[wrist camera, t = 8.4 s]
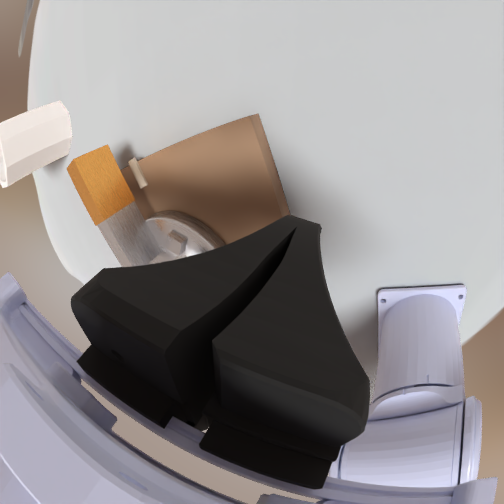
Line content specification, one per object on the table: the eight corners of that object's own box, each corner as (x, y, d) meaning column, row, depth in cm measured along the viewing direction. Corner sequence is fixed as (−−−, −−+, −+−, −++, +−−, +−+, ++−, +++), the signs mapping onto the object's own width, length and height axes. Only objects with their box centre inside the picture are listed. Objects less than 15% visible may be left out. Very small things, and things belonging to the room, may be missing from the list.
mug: (74, 106, 22) (2, 133, 15) (72, 166, 28) (12, 200, 21) (38, 92, 24) (-18, 113, 16) (37, 142, 29) (-12, 167, 22)
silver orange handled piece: (262, 311, 25) (237, 357, 21) (178, 312, 31) (152, 345, 27) (158, 109, 17) (101, 125, 13) (92, 168, 24) (51, 190, 20)
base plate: (322, 339, 26) (318, 352, 25) (171, 322, 37) (164, 330, 36) (256, 107, 16) (245, 110, 15) (95, 180, 28) (84, 186, 26)
